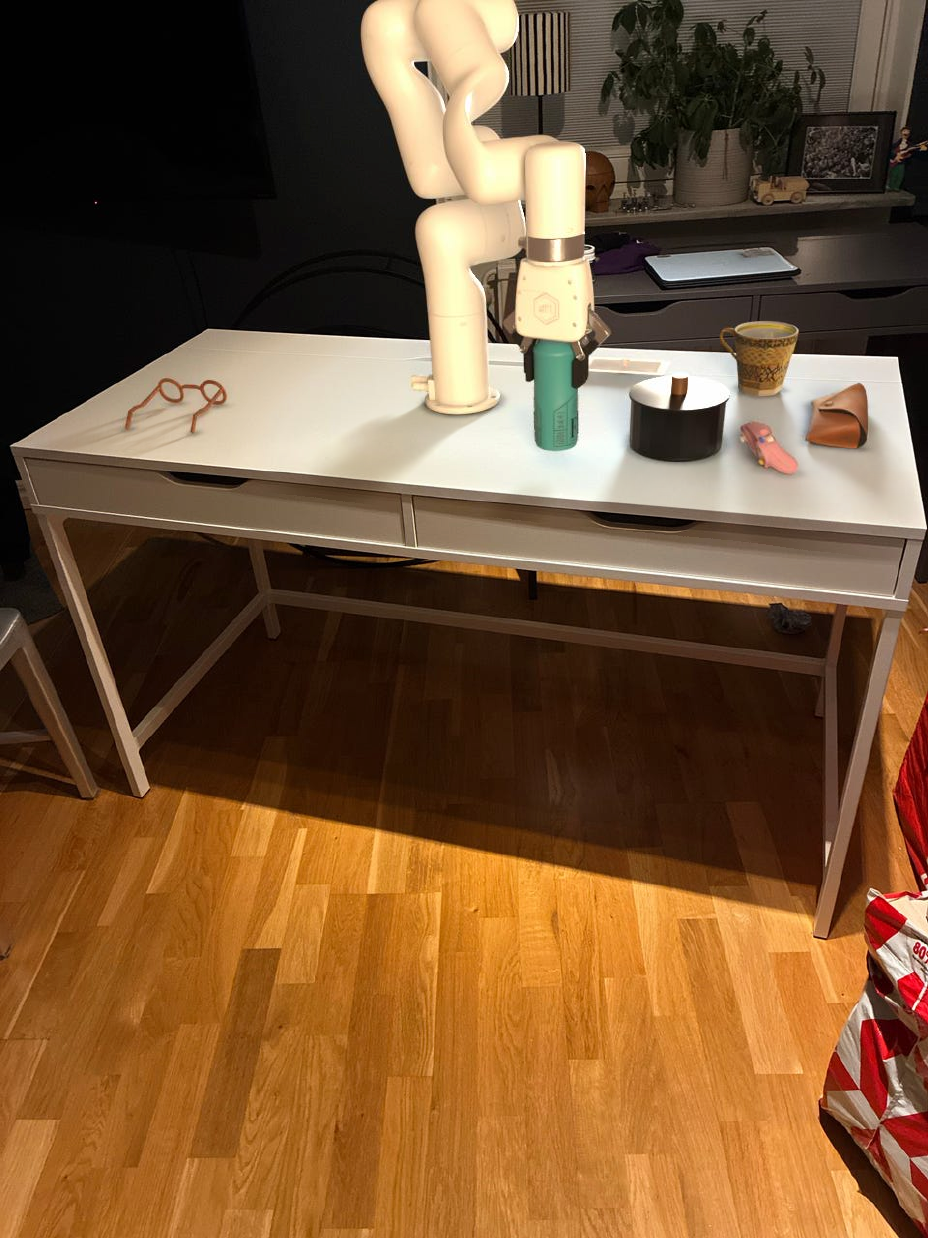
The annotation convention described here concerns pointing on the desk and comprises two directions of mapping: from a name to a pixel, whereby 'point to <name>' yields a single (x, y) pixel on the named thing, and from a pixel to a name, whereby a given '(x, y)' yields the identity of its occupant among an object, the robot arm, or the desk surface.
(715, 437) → the black short cylinder
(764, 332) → the ceramic cup
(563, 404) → the beverage bottle
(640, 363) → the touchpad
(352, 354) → the desk surface
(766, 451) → the pink cartoon race car
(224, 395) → the glasses
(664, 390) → the lid
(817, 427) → the sunglasses case
